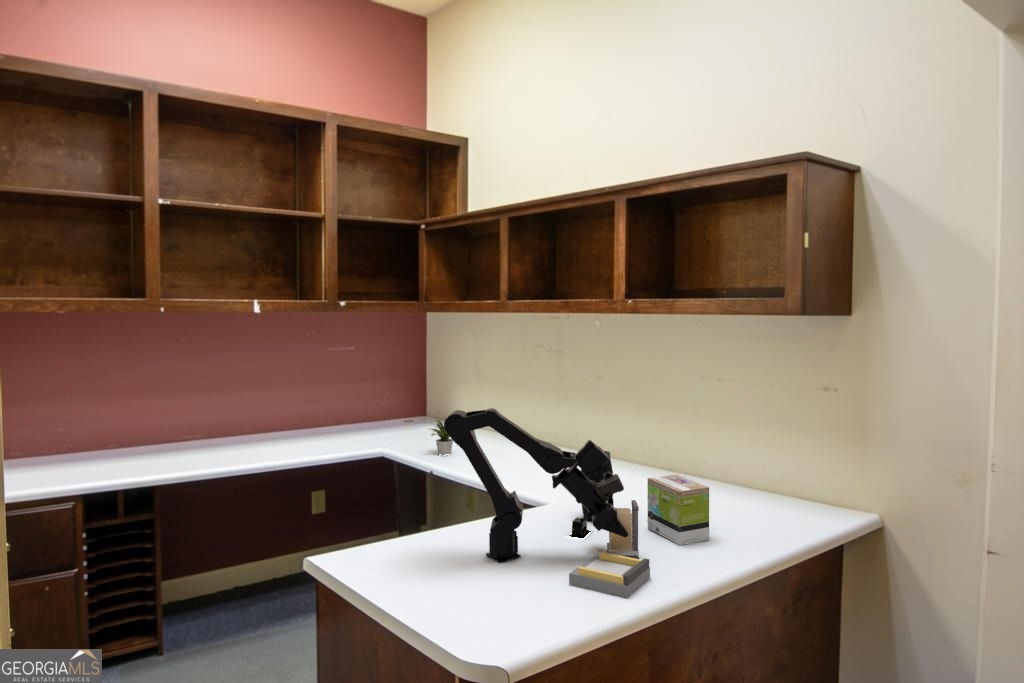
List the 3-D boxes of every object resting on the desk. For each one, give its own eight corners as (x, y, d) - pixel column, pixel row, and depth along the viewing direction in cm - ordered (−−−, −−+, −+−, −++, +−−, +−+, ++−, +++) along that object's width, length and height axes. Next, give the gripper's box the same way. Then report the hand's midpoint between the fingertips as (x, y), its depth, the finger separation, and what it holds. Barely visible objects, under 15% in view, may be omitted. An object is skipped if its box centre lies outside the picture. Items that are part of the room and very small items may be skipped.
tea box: (646, 529, 195) (646, 477, 195) (675, 524, 199) (676, 473, 199) (679, 546, 182) (679, 490, 181) (710, 541, 186) (710, 485, 185)
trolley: (609, 562, 171) (609, 506, 170) (606, 553, 177) (606, 499, 176) (638, 562, 170) (639, 507, 170) (635, 553, 176) (635, 500, 176)
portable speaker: (592, 512, 212) (592, 448, 211) (617, 518, 206) (617, 452, 205) (575, 519, 205) (575, 452, 204) (600, 525, 199) (600, 457, 198)
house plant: (432, 450, 303) (431, 412, 303) (463, 451, 301) (463, 413, 301) (423, 457, 289) (423, 418, 288) (456, 458, 287) (456, 418, 286)
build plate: (574, 528, 199) (574, 512, 199) (599, 531, 196) (599, 515, 196) (559, 541, 187) (559, 524, 187) (585, 545, 184) (585, 528, 184)
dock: (569, 584, 157) (569, 564, 157) (594, 565, 168) (594, 547, 168) (627, 598, 150) (627, 577, 150) (650, 577, 161) (650, 558, 161)
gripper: (607, 473, 163) (655, 520, 163) (601, 456, 182) (644, 498, 182) (573, 506, 164) (621, 553, 164) (570, 486, 183) (613, 528, 183)
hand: (625, 531), depth 173 cm, fingers open, 6 cm apart
